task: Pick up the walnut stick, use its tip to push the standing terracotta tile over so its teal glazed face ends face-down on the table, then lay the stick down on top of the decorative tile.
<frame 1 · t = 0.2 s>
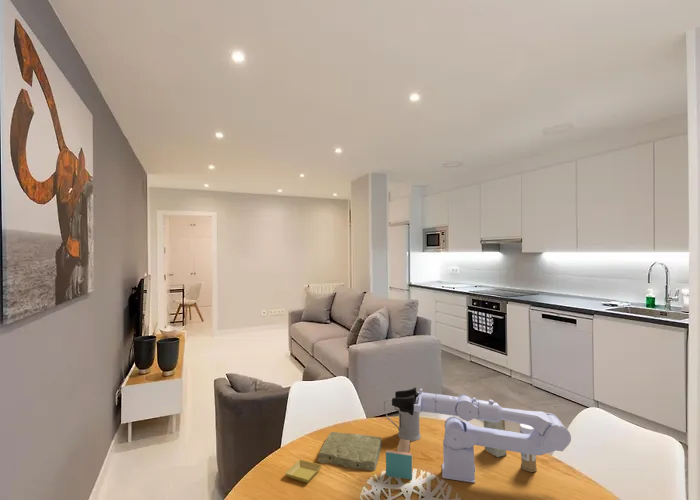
hand: (393, 398, 114), 21 cm above the table, tool horizontal, fingers open, 7 cm apart
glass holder: (402, 435, 133), on the table
walnut stick: (403, 458, 117), on the table
skincare box: (495, 452, 120), on the table
glazed tile: (399, 476, 106), on the table
saucer: (303, 476, 107), on the table
sprinkles bottle: (528, 469, 110), on the table
decorative tile: (350, 455, 120), on the table
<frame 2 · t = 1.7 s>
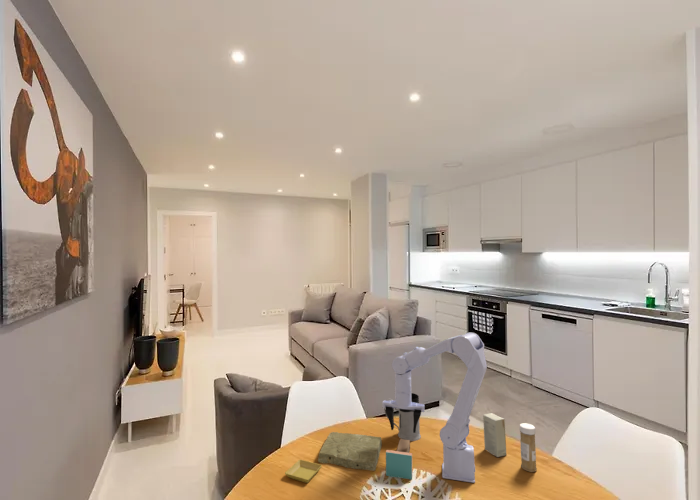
hand: (403, 430, 120), 8 cm above the table, tool pointing down, fingers open, 7 cm apart
nothing on the table moved.
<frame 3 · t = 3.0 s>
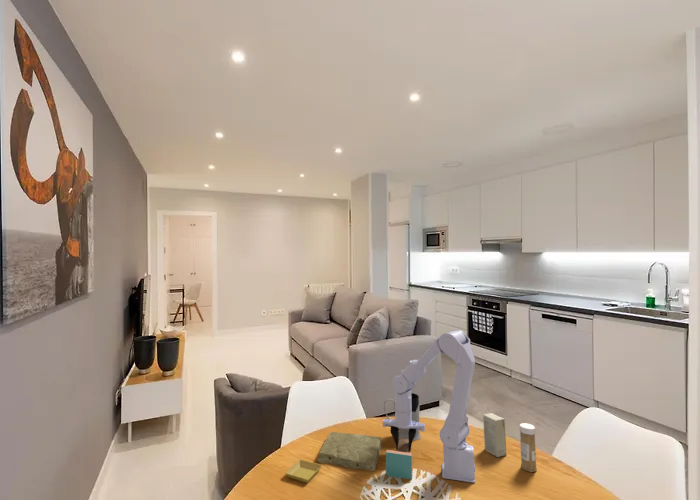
hand: (403, 449, 119), 1 cm above the table, tool pointing down, fingers closed on walnut stick, 3 cm apart
walnut stick: (402, 457, 117), on the table, touching gripper
everything else where it was.
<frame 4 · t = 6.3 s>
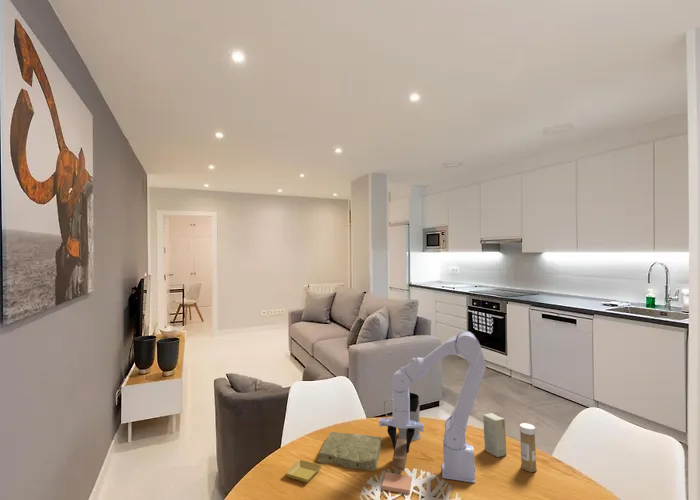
hand: (401, 450, 113), 4 cm above the table, tool pointing down, fingers closed on walnut stick, 3 cm apart
walnut stick: (400, 459, 111), point 3 cm above the table, touching gripper
glazed tile: (398, 477, 105), on the table, tilted 90°
everything else where it was.
when the fingers open (6 cm above the table, at t = 9.1 s): walnut stick drops 1 cm, resting on decorative tile.
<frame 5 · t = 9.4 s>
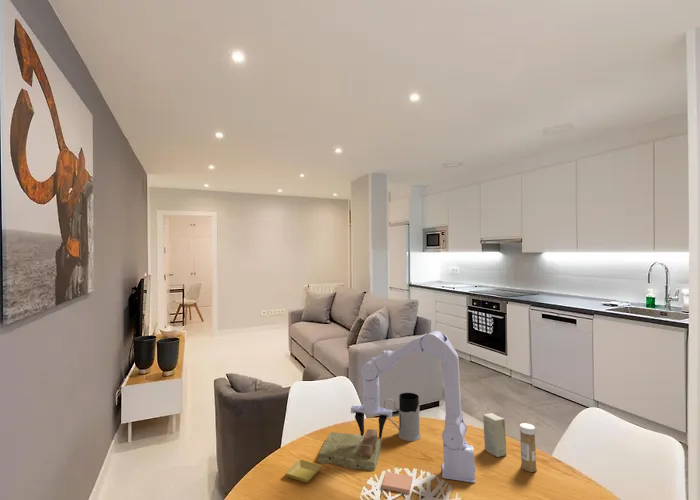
hand: (371, 435, 120), 6 cm above the table, tool pointing down, fingers open, 6 cm apart
walnut stick: (369, 447, 118), point 3 cm above the table, touching decorative tile
decorative tile: (350, 455, 120), on the table, touching walnut stick
everything else where it was.
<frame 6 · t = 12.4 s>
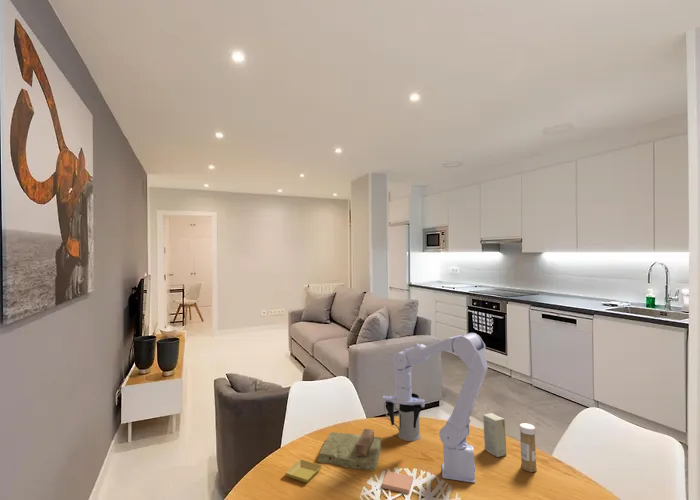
hand: (403, 425, 120), 9 cm above the table, tool pointing down, fingers open, 7 cm apart
walnut stick: (365, 447, 118), point 3 cm above the table, touching decorative tile
everything else where it was.
at the end: glazed tile tilted 90°; walnut stick touching decorative tile; the gripper is holding nothing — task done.
